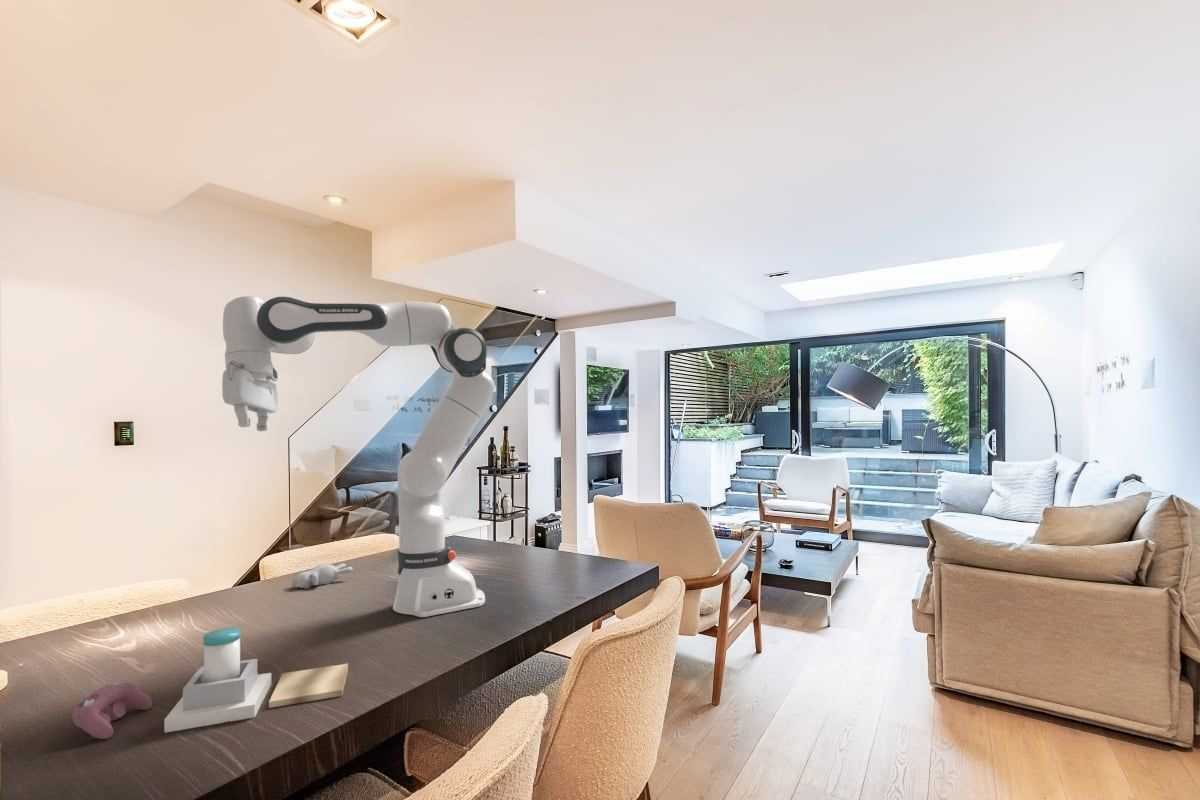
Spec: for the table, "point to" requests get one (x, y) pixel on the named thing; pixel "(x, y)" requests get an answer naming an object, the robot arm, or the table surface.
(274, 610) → the table surface
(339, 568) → the bunny figurine
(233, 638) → the cylinder
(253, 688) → the housing
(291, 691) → the pad
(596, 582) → the table surface
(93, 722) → the video game controller
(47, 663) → the table surface
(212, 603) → the table surface
